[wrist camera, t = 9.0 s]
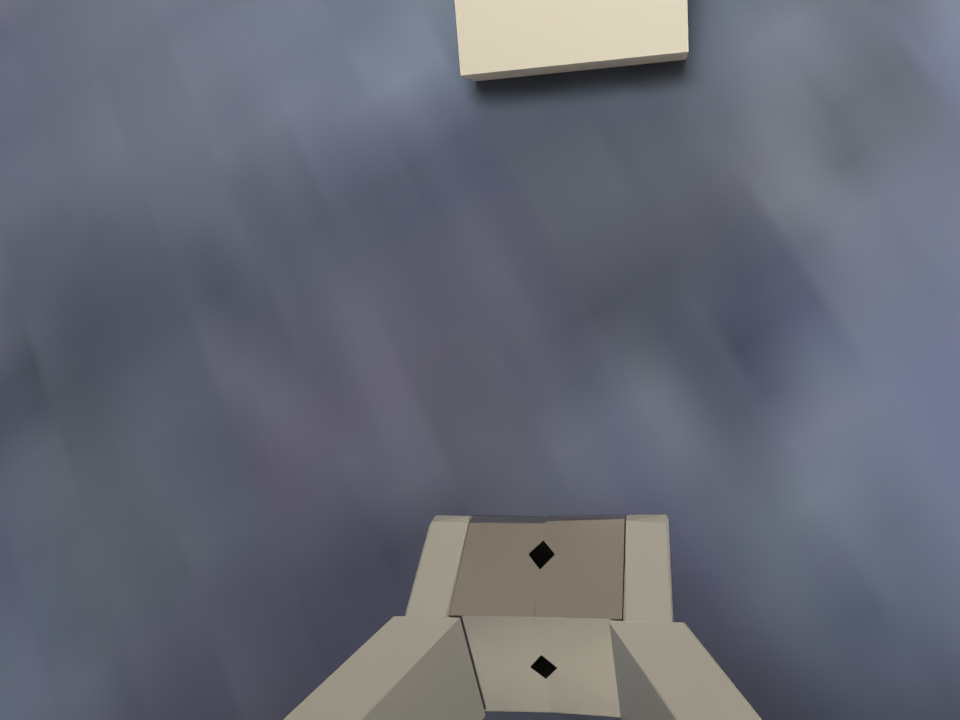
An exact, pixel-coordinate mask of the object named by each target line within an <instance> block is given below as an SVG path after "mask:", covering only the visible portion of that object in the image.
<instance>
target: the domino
mask: <svg viewBox="0 0 960 720" xmlns="http://www.w3.org/2000/svg"><path fill="white" fill-rule="evenodd" d="M455 11H456V23H457V36H458V49H459V61H460V74H461V76H463V77H466V78H468V79H470V80H473V81H484V80H494V79H503V78H513V77H523V76H533V75H542V74H552V73H562V72H571V71H581V70H591V69H601V68H610V67H620V66H630V65H640V64H649V63H659V62H669V61H679V60H686V59H687V55H688V52H689V48H688V8H687V0H455Z"/></svg>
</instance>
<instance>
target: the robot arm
mask: <svg viewBox="0 0 960 720" xmlns="http://www.w3.org/2000/svg"><path fill="white" fill-rule="evenodd" d="M485 711H506V712H554V713H568V714H582V715H595V716H609V717H621V720H762V719H761V718H760V716H759V715H758V714H757V713H756V711H755V710H754V709H753V708H752V706H751V705H750V704H749V703H748V701H747V700H746V699H745V698H744V696H743V695H742V694H741V693H740V691H739V690H738V689H737V688H736V686H735V685H734V684H733V683H732V681H731V680H730V679H729V678H728V676H727V675H726V674H725V673H724V671H723V670H722V669H721V668H720V666H719V665H718V664H717V663H716V661H715V660H714V659H713V658H712V656H711V655H710V654H709V653H708V651H707V650H706V649H705V648H704V646H703V645H702V644H701V643H700V641H699V640H698V639H697V638H696V636H695V635H694V634H693V633H692V631H691V630H690V629H689V628H688V626H687V625H686V624H685V623H681V622H674V619H673V599H672V578H671V558H670V538H669V520H668V516H667V515H666V514H663V515H627V518H626V515H585V516H549V517H537V516H490V515H473V516H456V515H436V516H435V517H434V519H433V520H432V522H431V523H430V525H429V528H428V532H427V536H426V539H425V543H424V547H423V550H422V554H421V558H420V561H419V565H418V569H417V572H416V576H415V580H414V584H413V587H412V591H411V595H410V598H409V602H408V606H407V609H406V613H405V616H393V617H392V618H391V619H390V620H389V621H388V622H387V623H386V624H385V625H384V626H383V627H381V628H380V629H379V630H378V631H377V632H376V633H375V634H374V635H373V636H372V637H371V638H370V639H369V640H368V641H367V642H365V643H364V644H363V645H362V646H361V647H360V648H359V649H358V650H357V651H356V652H355V653H354V654H353V655H352V656H351V657H349V658H348V659H347V660H346V661H345V662H344V663H343V664H342V665H341V666H340V667H339V668H338V669H337V670H336V671H334V672H333V673H332V674H331V675H330V676H329V677H328V678H327V679H326V680H325V681H324V682H323V683H322V684H321V685H320V686H318V687H317V688H316V689H315V690H314V691H313V692H312V693H311V694H310V695H309V696H308V697H307V698H306V699H305V700H304V701H302V702H301V703H300V704H299V705H298V706H297V707H296V708H295V709H294V710H293V711H292V712H291V713H290V714H289V715H288V716H286V717H285V718H284V719H283V720H483V718H484V717H485V716H486V715H485Z"/></svg>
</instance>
